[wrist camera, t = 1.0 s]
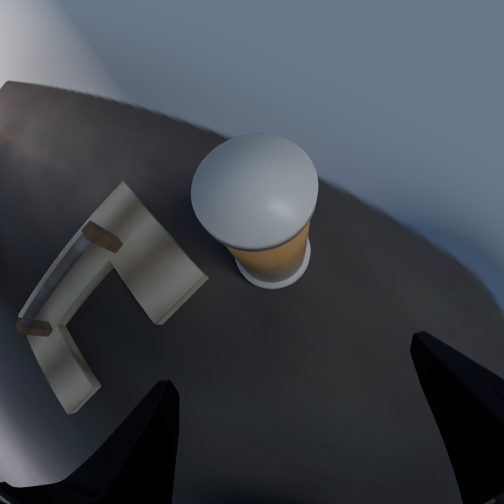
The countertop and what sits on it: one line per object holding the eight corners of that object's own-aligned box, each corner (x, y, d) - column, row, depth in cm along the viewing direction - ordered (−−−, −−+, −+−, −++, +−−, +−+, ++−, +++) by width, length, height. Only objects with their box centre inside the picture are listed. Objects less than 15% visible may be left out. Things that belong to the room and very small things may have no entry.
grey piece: (209, 278, 24) (183, 261, 18) (76, 412, 22) (39, 421, 16) (129, 187, 28) (100, 159, 22) (26, 316, 26) (-8, 310, 20)
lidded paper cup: (313, 285, 22) (334, 241, 11) (239, 292, 23) (186, 257, 12) (304, 215, 24) (309, 124, 13) (235, 223, 25) (189, 142, 13)
